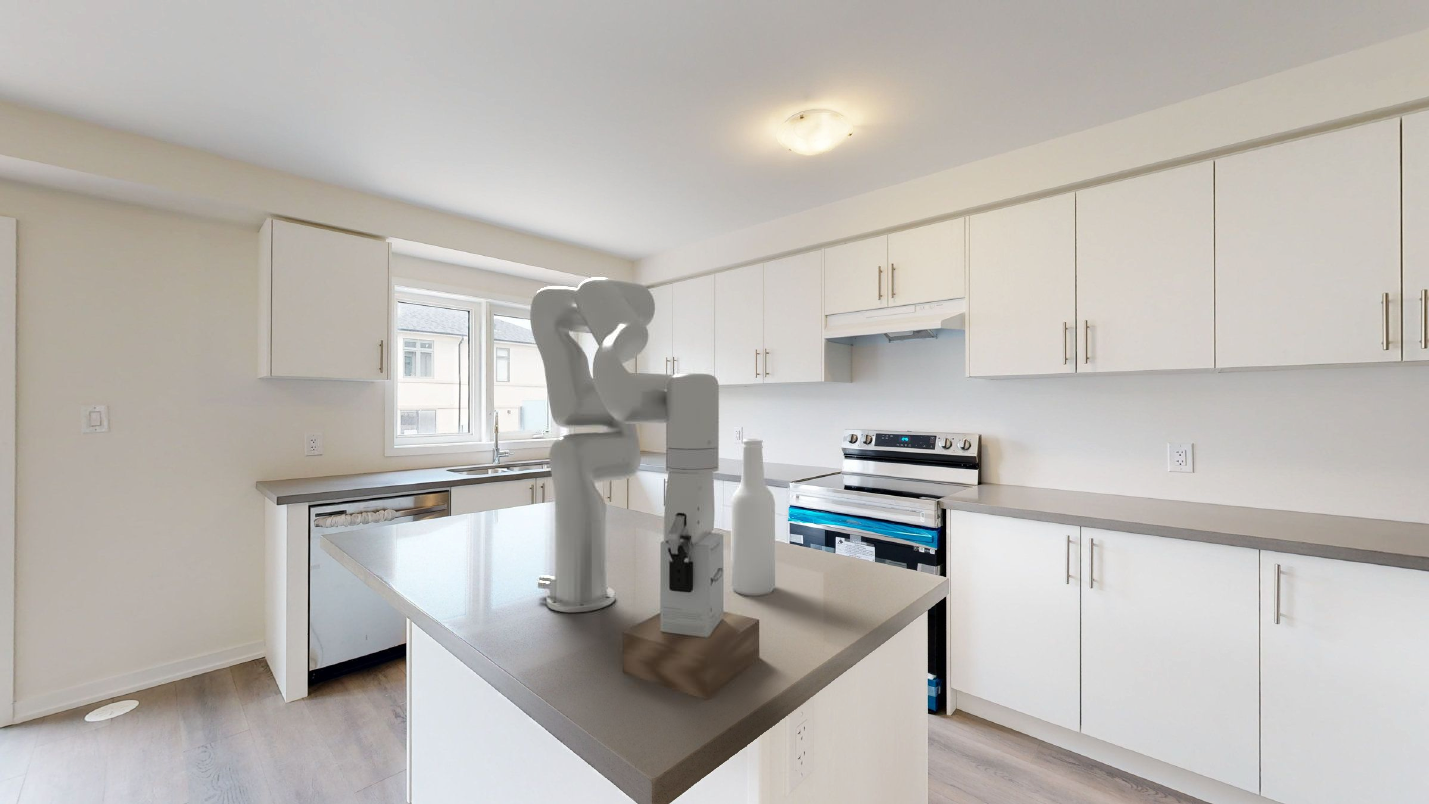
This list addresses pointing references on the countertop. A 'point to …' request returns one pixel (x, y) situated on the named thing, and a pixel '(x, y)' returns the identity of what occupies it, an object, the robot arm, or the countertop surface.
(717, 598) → the supplement box
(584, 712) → the countertop surface
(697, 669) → the walnut block
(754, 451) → the white bottle
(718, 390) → the robot arm
